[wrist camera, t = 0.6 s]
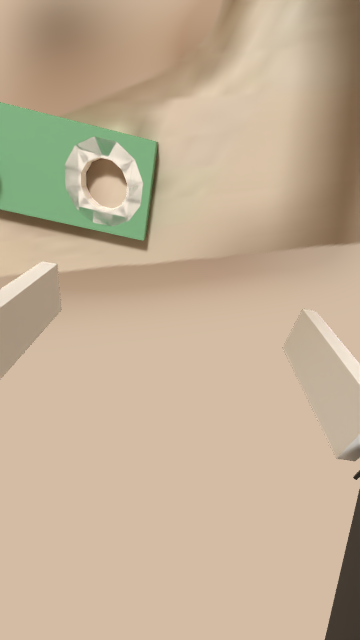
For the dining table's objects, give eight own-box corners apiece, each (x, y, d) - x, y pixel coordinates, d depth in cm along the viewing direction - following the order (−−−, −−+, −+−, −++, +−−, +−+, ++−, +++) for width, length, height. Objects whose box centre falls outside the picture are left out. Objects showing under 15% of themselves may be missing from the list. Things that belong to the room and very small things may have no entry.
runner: (-76, 83, 29) (-92, 78, 28) (158, 142, 32) (156, 141, 30) (-48, 194, 36) (-60, 196, 34) (145, 237, 38) (143, 240, 36)
